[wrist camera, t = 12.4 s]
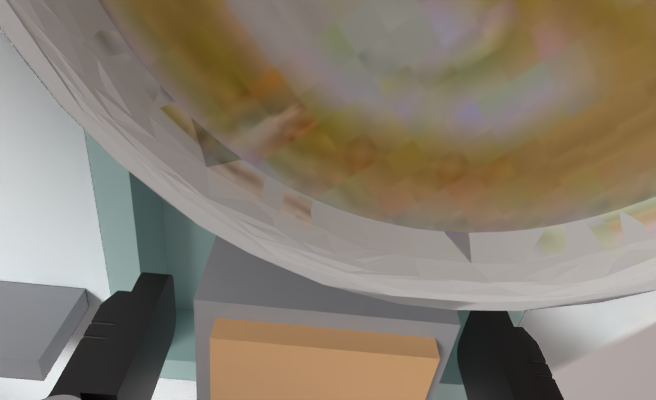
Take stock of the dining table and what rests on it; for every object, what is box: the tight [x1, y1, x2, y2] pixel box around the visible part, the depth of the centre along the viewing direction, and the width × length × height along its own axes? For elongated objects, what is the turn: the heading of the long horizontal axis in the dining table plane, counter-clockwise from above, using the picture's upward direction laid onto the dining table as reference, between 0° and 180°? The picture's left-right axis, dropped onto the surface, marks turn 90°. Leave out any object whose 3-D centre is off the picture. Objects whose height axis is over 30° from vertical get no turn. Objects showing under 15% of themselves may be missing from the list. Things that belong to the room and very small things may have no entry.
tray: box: [84, 129, 525, 400], centre depth 16 cm, size 11×13×3 cm
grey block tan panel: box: [194, 235, 461, 400], centre depth 13 cm, size 6×5×8 cm
